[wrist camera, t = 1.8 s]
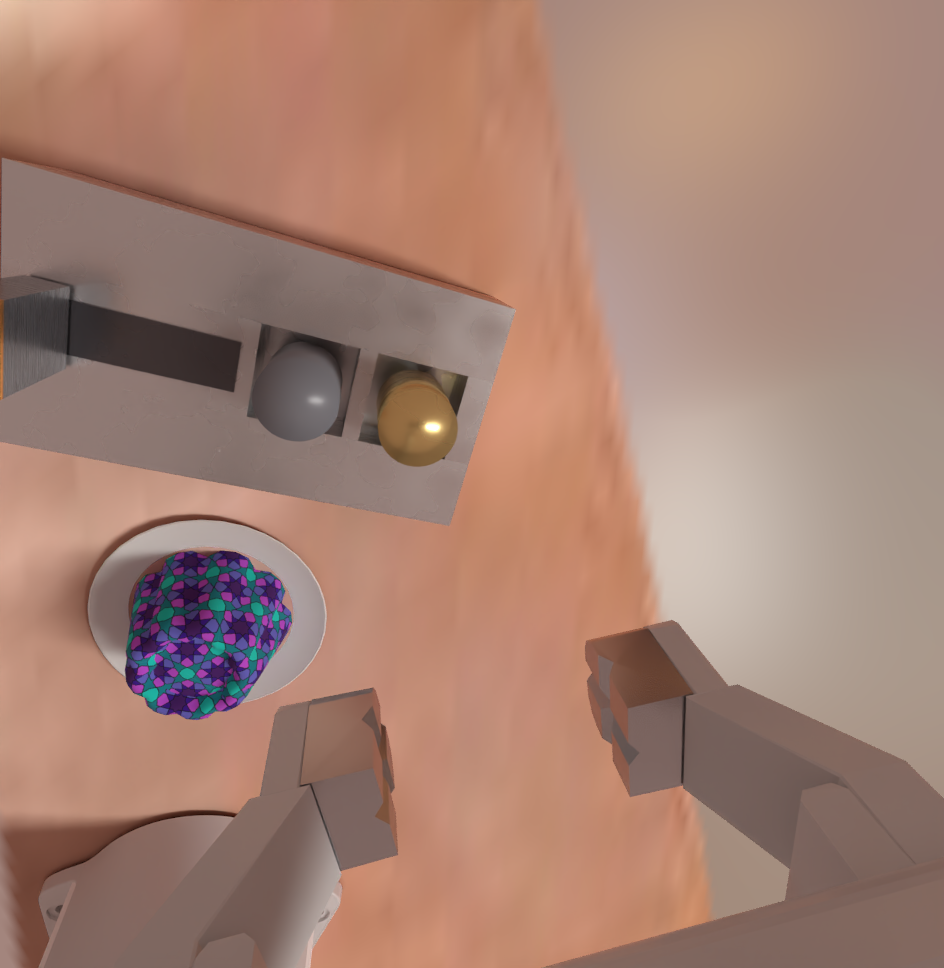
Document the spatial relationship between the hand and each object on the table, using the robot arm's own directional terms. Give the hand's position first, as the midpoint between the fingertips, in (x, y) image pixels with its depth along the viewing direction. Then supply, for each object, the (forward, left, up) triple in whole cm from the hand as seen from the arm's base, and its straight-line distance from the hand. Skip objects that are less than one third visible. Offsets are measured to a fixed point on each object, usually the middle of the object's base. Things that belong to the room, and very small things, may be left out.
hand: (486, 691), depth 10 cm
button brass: (0, 0, -17) cm, 17 cm away
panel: (0, +5, -21) cm, 22 cm away
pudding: (-15, +7, -22) cm, 27 cm away
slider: (0, +13, -16) cm, 21 cm away
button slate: (0, +4, -17) cm, 18 cm away
